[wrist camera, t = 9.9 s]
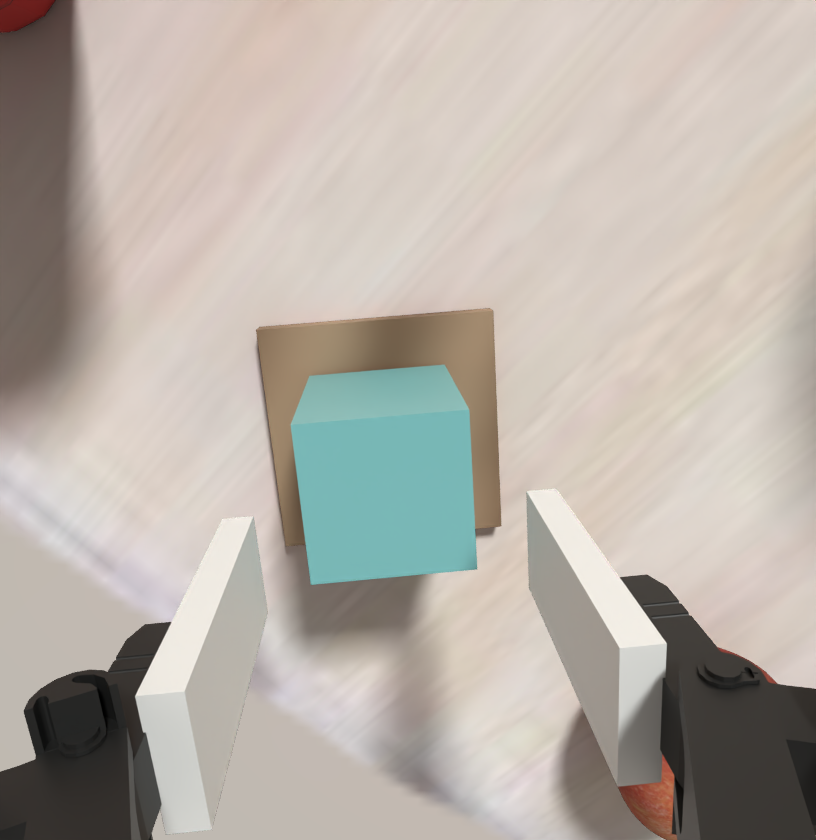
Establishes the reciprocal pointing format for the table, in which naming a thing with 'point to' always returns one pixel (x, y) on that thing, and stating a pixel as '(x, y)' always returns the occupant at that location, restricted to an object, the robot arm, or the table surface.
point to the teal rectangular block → (385, 474)
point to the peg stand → (378, 350)
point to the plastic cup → (21, 13)
